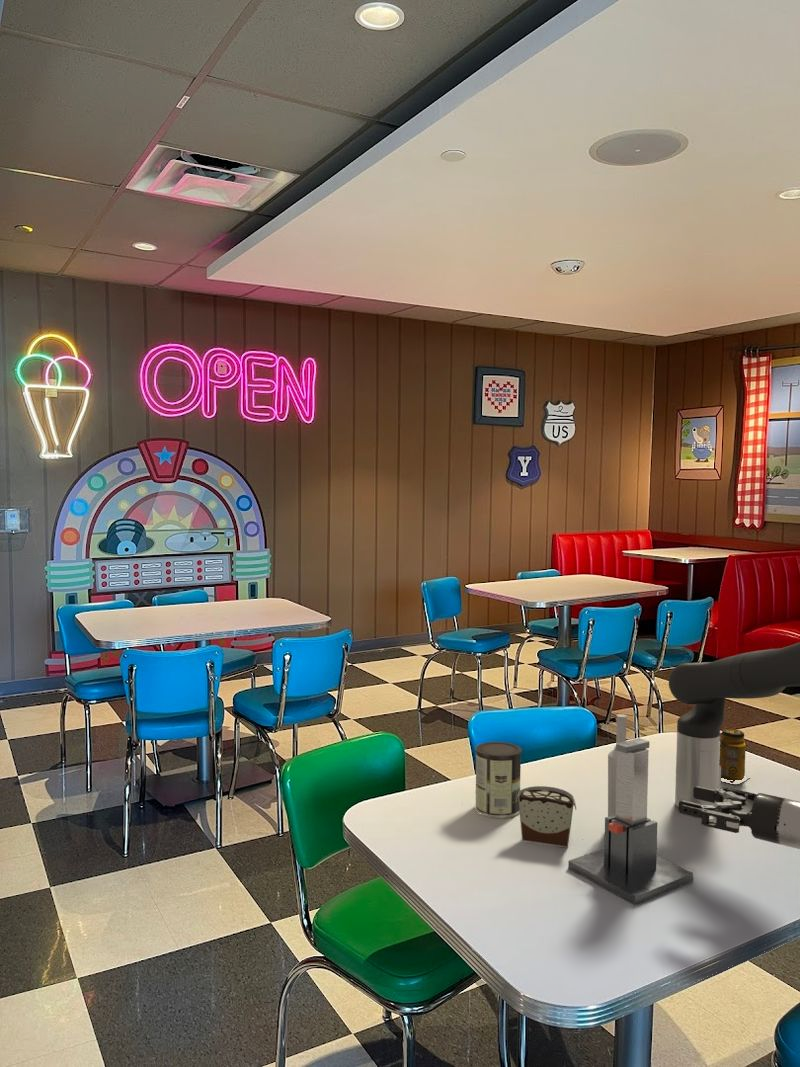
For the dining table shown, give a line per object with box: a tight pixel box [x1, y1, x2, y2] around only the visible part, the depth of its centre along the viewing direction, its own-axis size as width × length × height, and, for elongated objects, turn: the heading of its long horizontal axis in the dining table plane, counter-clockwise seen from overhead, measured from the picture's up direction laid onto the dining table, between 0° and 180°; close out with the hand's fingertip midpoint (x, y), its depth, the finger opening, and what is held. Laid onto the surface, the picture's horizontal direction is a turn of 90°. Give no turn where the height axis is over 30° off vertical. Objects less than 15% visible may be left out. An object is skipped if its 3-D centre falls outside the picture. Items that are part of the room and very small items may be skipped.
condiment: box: [719, 728, 747, 781], centre depth 200 cm, size 7×8×12 cm
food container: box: [516, 785, 577, 848], centre depth 164 cm, size 12×6×10 cm, turn 71°
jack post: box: [615, 737, 650, 828], centre depth 148 cm, size 6×4×23 cm, turn 123°
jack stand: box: [567, 814, 694, 906], centre depth 149 cm, size 16×16×10 cm
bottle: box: [607, 713, 628, 817], centre depth 167 cm, size 5×5×25 cm
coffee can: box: [475, 741, 522, 819], centre depth 179 cm, size 10×10×14 cm
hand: (686, 798), depth 142 cm, fingers open, 8 cm apart
